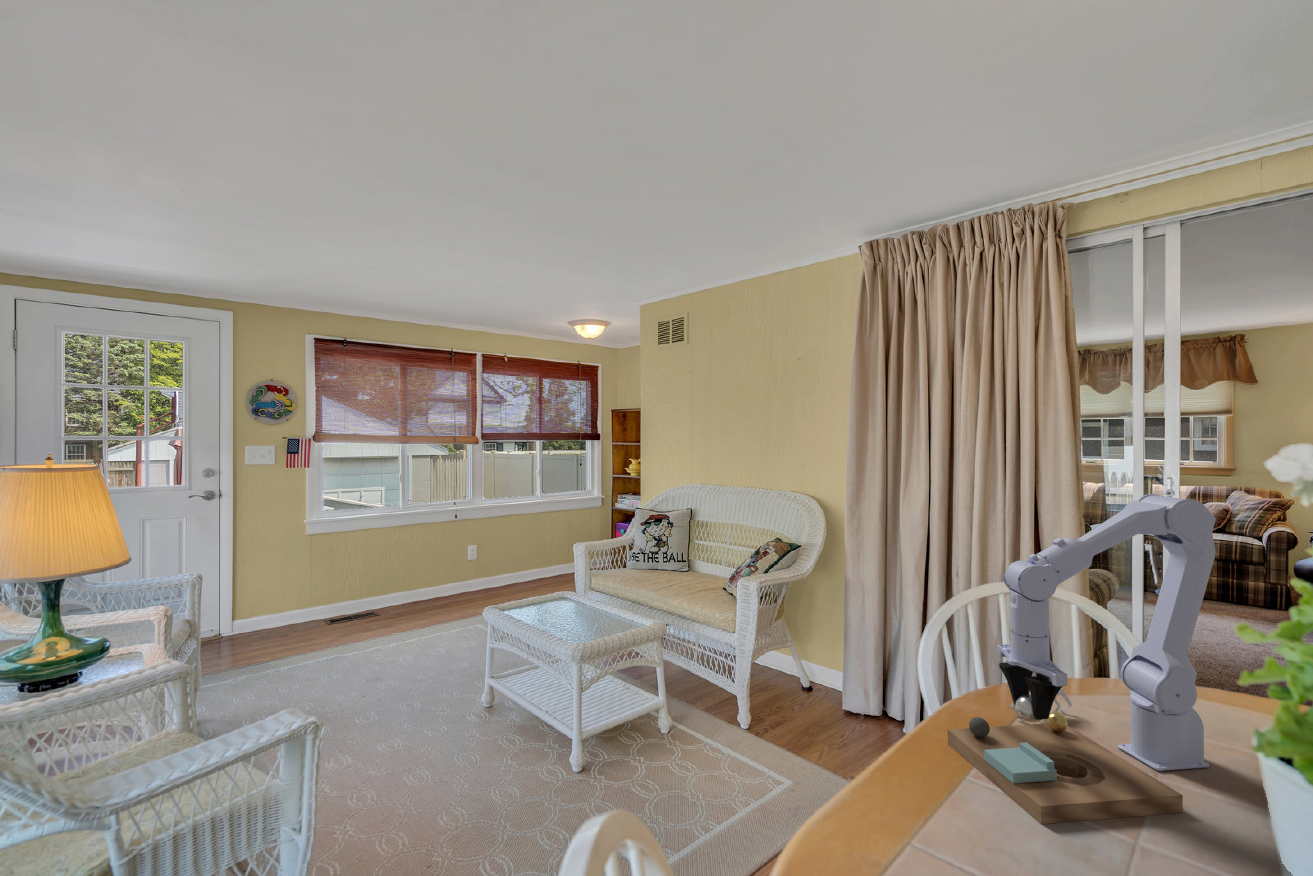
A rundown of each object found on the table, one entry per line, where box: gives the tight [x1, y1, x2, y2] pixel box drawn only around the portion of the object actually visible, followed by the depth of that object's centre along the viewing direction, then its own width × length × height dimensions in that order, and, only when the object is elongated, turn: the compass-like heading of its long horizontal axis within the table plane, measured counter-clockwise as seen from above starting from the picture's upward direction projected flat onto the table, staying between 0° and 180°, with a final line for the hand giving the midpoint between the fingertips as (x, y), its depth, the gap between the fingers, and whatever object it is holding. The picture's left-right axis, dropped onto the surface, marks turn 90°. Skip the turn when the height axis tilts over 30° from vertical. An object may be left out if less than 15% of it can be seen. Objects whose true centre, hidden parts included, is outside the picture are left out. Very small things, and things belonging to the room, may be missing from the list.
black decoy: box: [968, 716, 991, 737], centre depth 108 cm, size 3×3×3 cm
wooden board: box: [947, 722, 1184, 825], centre depth 100 cm, size 22×23×2 cm
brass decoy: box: [1045, 711, 1069, 732], centre depth 109 cm, size 3×3×3 cm
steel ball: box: [1014, 695, 1042, 724], centre depth 107 cm, size 4×4×4 cm
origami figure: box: [1008, 687, 1073, 718], centre depth 122 cm, size 12×8×5 cm
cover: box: [984, 742, 1058, 783], centre depth 97 cm, size 7×7×2 cm
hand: (1030, 712), depth 107 cm, fingers closed on steel ball, 4 cm apart
